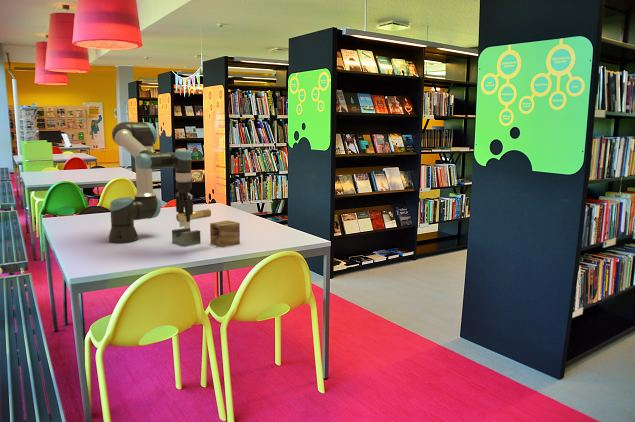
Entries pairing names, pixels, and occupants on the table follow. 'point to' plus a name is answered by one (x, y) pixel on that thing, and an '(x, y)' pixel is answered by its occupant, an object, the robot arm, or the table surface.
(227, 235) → the wooden cube block
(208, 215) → the axle
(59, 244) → the table surface
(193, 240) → the v block
